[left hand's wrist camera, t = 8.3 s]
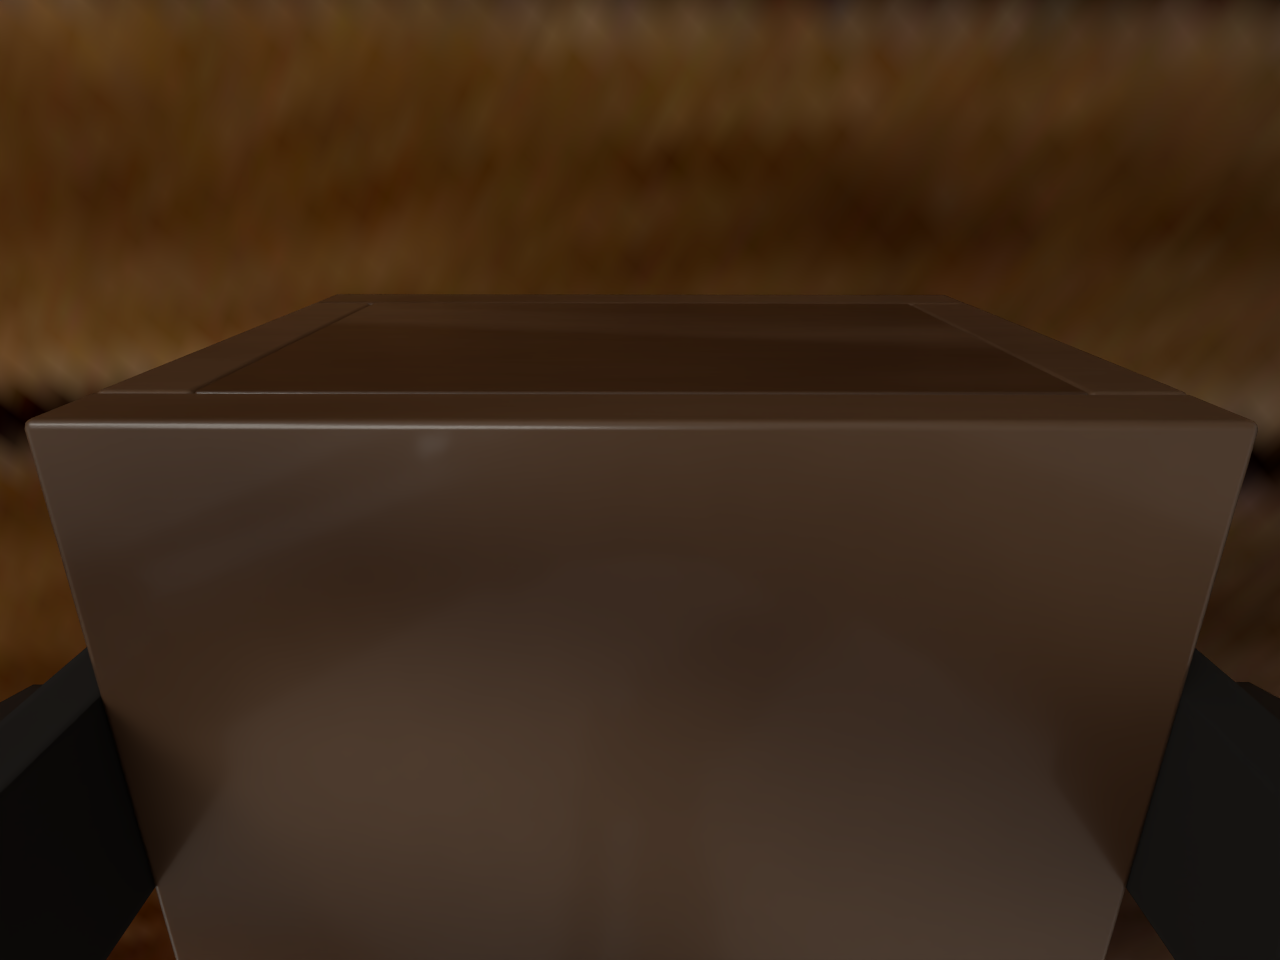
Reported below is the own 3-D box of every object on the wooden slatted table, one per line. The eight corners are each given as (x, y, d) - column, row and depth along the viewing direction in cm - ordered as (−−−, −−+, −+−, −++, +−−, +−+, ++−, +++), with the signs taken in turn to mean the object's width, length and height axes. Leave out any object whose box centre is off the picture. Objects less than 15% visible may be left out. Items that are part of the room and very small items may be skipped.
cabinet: (848, 1024, 22) (958, 1475, 15) (430, 1023, 22) (320, 1474, 15) (948, 294, 15) (1266, 421, 7) (334, 293, 15) (16, 420, 7)
